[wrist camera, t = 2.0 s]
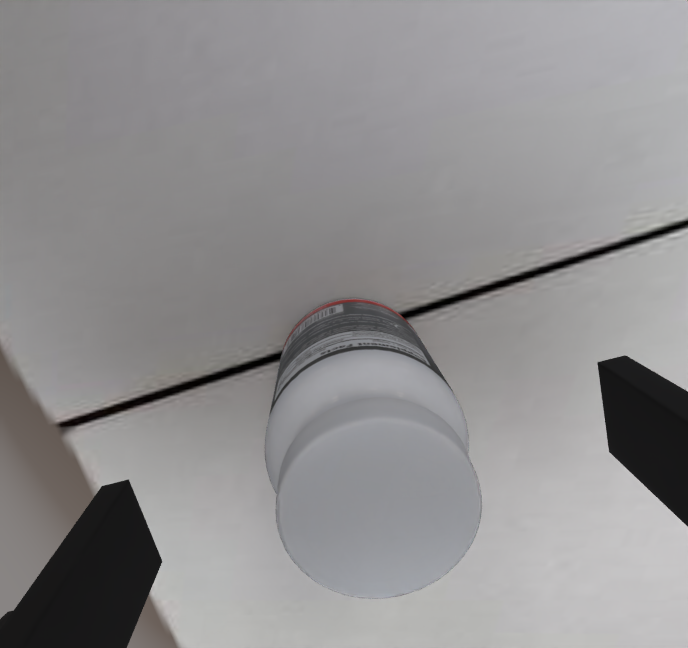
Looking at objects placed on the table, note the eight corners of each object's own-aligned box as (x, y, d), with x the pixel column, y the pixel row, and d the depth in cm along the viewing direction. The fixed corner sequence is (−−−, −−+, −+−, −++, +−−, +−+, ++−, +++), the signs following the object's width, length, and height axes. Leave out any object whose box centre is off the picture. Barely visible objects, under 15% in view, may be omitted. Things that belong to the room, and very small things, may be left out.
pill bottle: (410, 434, 22) (477, 629, 13) (274, 422, 22) (240, 613, 12) (433, 303, 21) (530, 412, 11) (288, 285, 20) (261, 386, 11)
